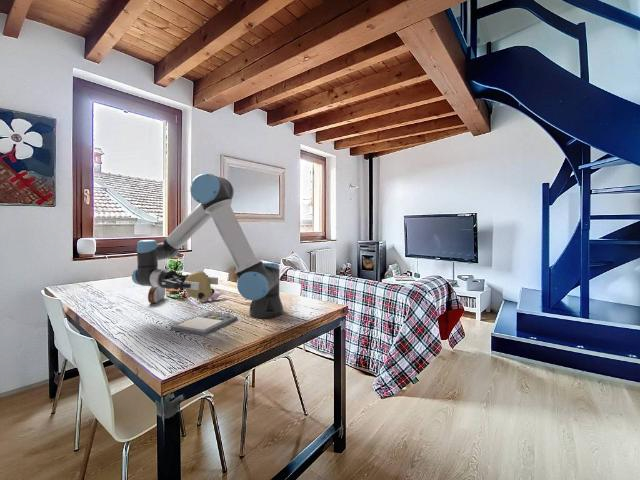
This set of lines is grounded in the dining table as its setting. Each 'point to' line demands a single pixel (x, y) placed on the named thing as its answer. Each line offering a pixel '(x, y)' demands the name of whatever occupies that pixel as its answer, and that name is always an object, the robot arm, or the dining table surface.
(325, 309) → the dining table surface
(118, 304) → the dining table surface
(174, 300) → the dining table surface
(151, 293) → the tin
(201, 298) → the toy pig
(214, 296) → the rabbit figure
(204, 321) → the breaker panel
